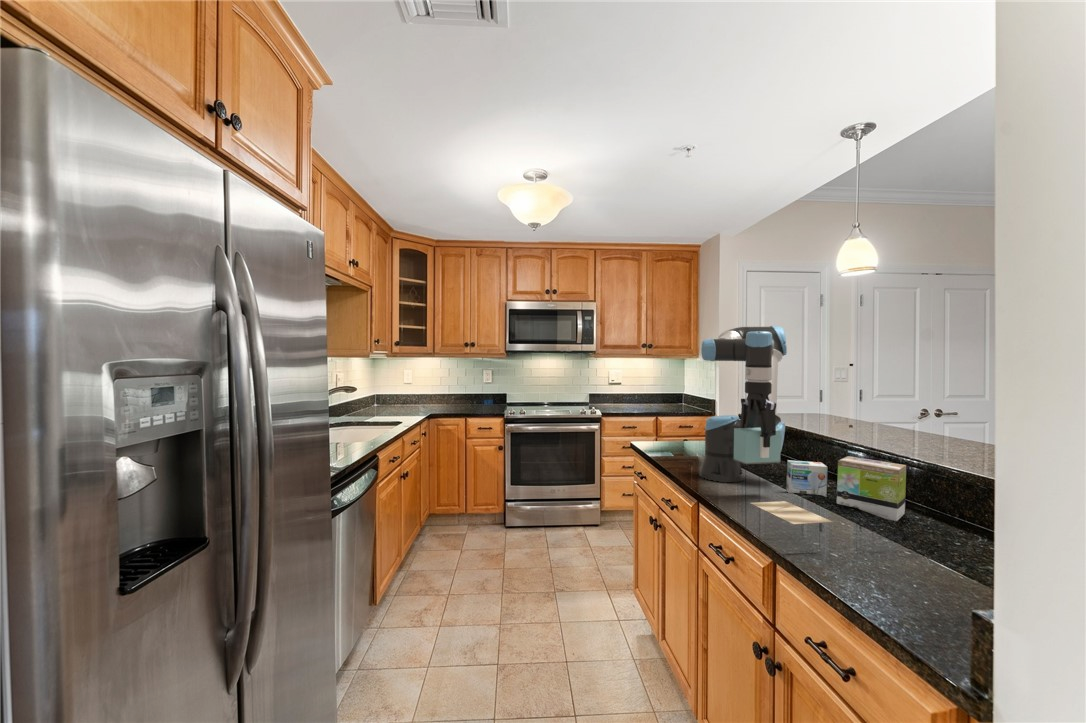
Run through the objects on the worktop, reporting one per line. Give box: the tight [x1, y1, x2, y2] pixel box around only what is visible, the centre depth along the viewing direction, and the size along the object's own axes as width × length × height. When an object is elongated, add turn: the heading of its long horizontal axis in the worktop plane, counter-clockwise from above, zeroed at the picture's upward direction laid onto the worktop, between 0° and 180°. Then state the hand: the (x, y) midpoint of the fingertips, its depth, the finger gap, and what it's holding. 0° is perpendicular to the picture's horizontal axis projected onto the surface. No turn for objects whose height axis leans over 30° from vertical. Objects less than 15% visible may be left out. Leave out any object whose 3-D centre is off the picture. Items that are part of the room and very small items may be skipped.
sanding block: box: [734, 428, 781, 465], centre depth 144 cm, size 6×12×10 cm, turn 102°
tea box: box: [836, 455, 907, 522], centre depth 135 cm, size 15×10×15 cm
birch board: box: [750, 500, 834, 525], centre depth 129 cm, size 18×12×2 cm, turn 11°
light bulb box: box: [785, 459, 828, 498], centre depth 151 cm, size 11×7×11 cm, turn 74°
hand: (756, 454), depth 144 cm, fingers closed on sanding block, 6 cm apart
